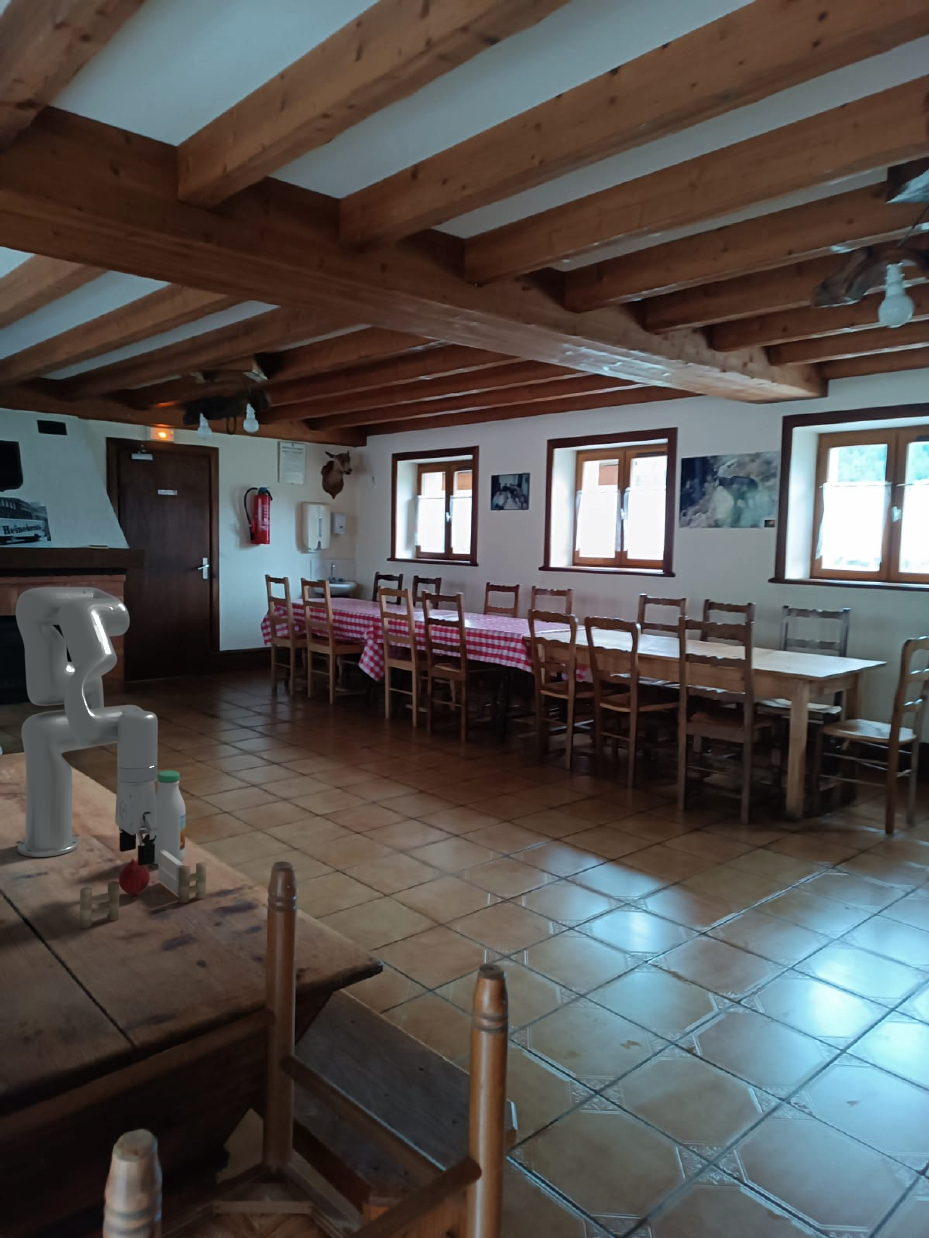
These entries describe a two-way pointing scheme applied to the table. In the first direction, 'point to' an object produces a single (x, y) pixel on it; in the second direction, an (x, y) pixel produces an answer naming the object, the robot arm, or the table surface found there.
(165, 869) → the gate
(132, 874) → the onion
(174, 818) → the milk bottle
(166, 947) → the table surface
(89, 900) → the fence
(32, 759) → the robot arm
